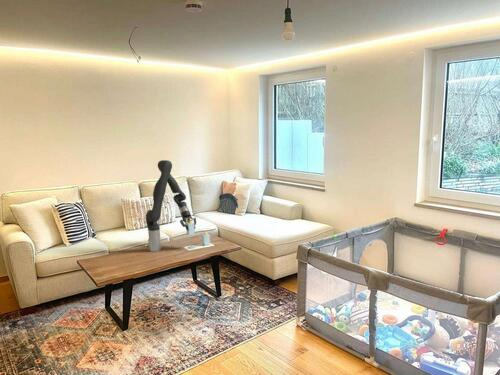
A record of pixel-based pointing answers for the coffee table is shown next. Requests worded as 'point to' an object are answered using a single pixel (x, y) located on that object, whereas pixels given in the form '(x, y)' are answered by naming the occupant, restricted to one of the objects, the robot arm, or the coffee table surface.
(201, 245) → the card
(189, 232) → the post
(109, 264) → the coffee table surface
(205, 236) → the post
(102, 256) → the coffee table surface
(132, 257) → the coffee table surface
